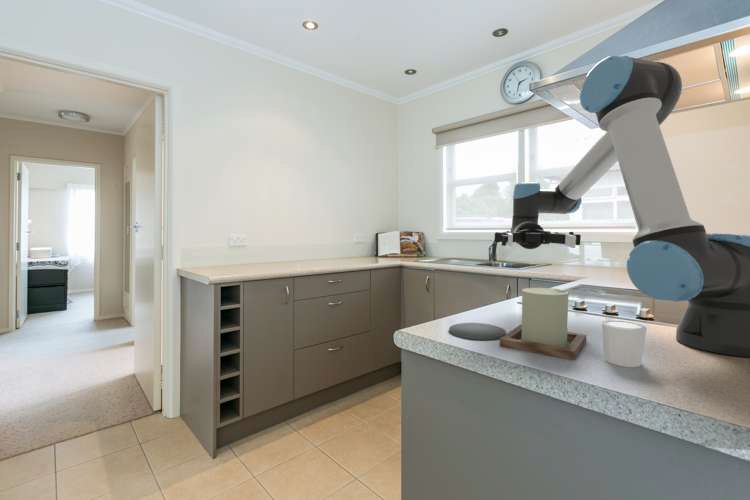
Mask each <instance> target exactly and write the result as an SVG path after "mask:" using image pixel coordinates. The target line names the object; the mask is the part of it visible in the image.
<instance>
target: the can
mask: <svg viewBox="0 0 750 500" xmlns="http://www.w3.org/2000/svg"><path fill="white" fill-rule="evenodd" d="M569 294H570V293H569V291H567V290H564V289H559V288H552V287H551V288H550V287H526V288H525V287H524V288H522V289H521V297H522V298H521V300H522V301H521V325H522V335H521V337H520V340H523V341H529V342H535V343H541V344H546V345H552V346H558V347H563V348H567V347H568V346H569V345H568V341H567V332H568V320H569V319H568V318H569V317H568V316H569V315H568V313H569Z"/></svg>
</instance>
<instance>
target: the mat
mask: <svg viewBox="0 0 750 500" xmlns="http://www.w3.org/2000/svg"><path fill="white" fill-rule="evenodd" d="M448 329H449V334H451V335H453V336H455V337H458V338H461V339H464V340H465V339H467V340H474V341H494V340H500V338H501V337H503V336H504V335H506V334H507V333H506V330H505V329H504V328H503V327H499V326H497V325H493V324H489V323H483V322H482V323H481V322H460V323H456V324H452V325H450V326H449V328H448Z"/></svg>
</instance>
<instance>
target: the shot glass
mask: <svg viewBox="0 0 750 500" xmlns="http://www.w3.org/2000/svg"><path fill="white" fill-rule="evenodd" d="M601 328H602V340H603V341H602V342H603V353H604V354H603V355H604V356H603V357H604V360H605V361H606V362H607V363H610V364H612V365H616V366H620V367H625V368H638V367H641V366H642V360H643V355H644V347H645V342H646V341H645V340H646V335H647V328H648V327H647V326H645V325H643V324H640V323H636V322H631V321H624V320H623V321H622V320H604V321H602V322H601Z"/></svg>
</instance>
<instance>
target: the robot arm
mask: <svg viewBox="0 0 750 500" xmlns="http://www.w3.org/2000/svg"><path fill="white" fill-rule="evenodd" d="M682 89H683V82H682V77H681V75H680V73H679V72H678V70H677V69H676V68H675V67H674V66H672V65H670V64H669V63H665V62H660V61H653V60H647V59H641V58H636V57H630V56H628V55H621V56H619V55H611V56H608V57H606V58H603V59H602V60H599V62H598V63H596V64H595V65H594V66H593V67H592V68H591V70H590V71H588V73H587V75H586V77H585V78H584V81H583V83H582V85H581V88H580V93H579V101H580V102H579V103H580V105H581V107H582V109H583V110H584V111H587V112H588V113H590V114H595V116H596V120H597V122H598V126H599V128H600V130H602V131H603V132H604V131H605V132H604V133H603V134H602V136H601V137H600V138H598V140H597V141H596V142H595V143H594V145H592V147H591V148H590V149H589V150H588V152H586V154H585V155H584V156H583V157H581V159H580V160H579V161H578V162H577V164H575V166H574V167H573V168H572V169H571V170H570V172H568V174H567V175H566V176H565V177H564V178H563V179H562V180H561V181H560V182H559V184H558V185H557V186H556V187H555V188H554V189H544V188H543V189H542V188H541V184H540V183H539V182H533V181H532V182H530V181H529V182H518V183H516V184H515V185H514V190H513V194H512V198H513V199H512V201H513V202H512V203H513V206H512V207H513V208H512V219H511V220H512V221H511V223H512V224H511V228H510V230H505V231H500V232H497V231H496V232H494V241H493V242H494V243H497V244H498V243H501V246H507V245H508V246H510V247H512V246H513V243H515V244H518V245H519V246H521V248H523V249H525V250H534V249H537V248H539V247H541V246H542V245H550V244H559V245H564V246H566V247H568V248H570V249H576V246H581V237H582V236H581V234H578V233H577V234H575V233H574V231H569V232H568V233H561V232H558V231H555V232H551V231H550V230H544V228H543V227H542V226H541V225H540V224H539V215H540V214H557V215H558V214H559V215H567V214H574V213H575V212H577V211H578V210H579V209H580V207H581V205H582V202H583V201H582V197H583V196H584V195H585V194H586V193H587V192H588V191H589V190H590V189H591V188H592V187H593V186H594V185H595V184H596V183H597V182H598V181H600V179H601V178H602V177H603V176H604V175H605V174H606V173H607V172H608V171H609V170H610V169H611V168H612V167H614V165H615V164H616V163H617V162H618V166H619V168H620V172H621V176H622V180H623V182H624V186H625V189H626V192H627V196H628V198H629V199H628V200H629V202H630V203H629V204H630V206H631V209H632V214H633V216H634V219H635V224H636V227H637V232H636V234H635V235H634V237H633V238H632V239H631V241H632V243H633V249H632V250H631V251H630V253H629V254H628V255H629V258H626V259H627V260H626V271H627V275H628V278H629V279H630V282H631V283H632V285H633V286H634V287H635V288H636V289H637V290H638V291H640V293H642V294H644V295H645V296H647V297H649V298H651V299H654V300H658V301H662V302H663V301H664V302H669V301H670V302H686V301H687V306H686V309H685V310H684V312H683V314H682V317H681V319H680V321H679V323H678V325H677V327H676V330H675V331H676V332H675V334H676V335H675V339H676V341H678V342H679V343H681V344H682V345H685V346H688V347H691V348H694V349H698V350H702V351H706V352H711V353H716V354H721V355H727V356H728V355H729V356H733V357H734V356H736V357H744V358H750V235H747V234H746V235H745V234H732V233H718V232H717V233H715V232H714V233H711V232H708V233H707V231H706V228H705V225H704V224H703V223H701V222H699V221H696V220H693V219H692V218H691V215H690V214H689V210H688V207H687V203H686V200H685V199H684V195H683V193H682V189H681V186H680V183H679V181H678V177H677V174H676V171H675V168H674V165H673V162H672V160H671V157H670V153H669V150H668V148H667V145H666V142H665V139H664V135H663V133H662V130H661V125H662V124H663V123H664V122H665V120H666V119H667V118H668V117H669V116H670V115H671V113H672V112H673V110H674V109H675V107H676V106H677V103H678V102H679V100H680V98H681V94H682Z"/></svg>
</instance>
